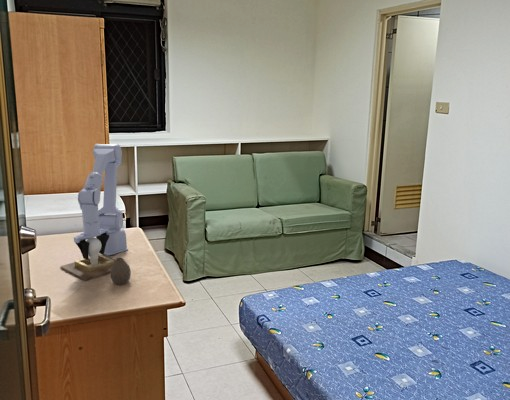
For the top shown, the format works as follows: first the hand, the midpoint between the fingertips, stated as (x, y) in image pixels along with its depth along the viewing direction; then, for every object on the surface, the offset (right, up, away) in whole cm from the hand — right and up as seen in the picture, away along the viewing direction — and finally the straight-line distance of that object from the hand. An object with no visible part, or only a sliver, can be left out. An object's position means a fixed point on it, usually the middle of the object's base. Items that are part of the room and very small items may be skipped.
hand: (93, 255), depth 185 cm
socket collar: (0, -5, +1) cm, 5 cm away
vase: (+13, -8, -12) cm, 20 cm away
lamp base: (0, -5, +1) cm, 5 cm away
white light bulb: (0, -4, +1) cm, 4 cm away
